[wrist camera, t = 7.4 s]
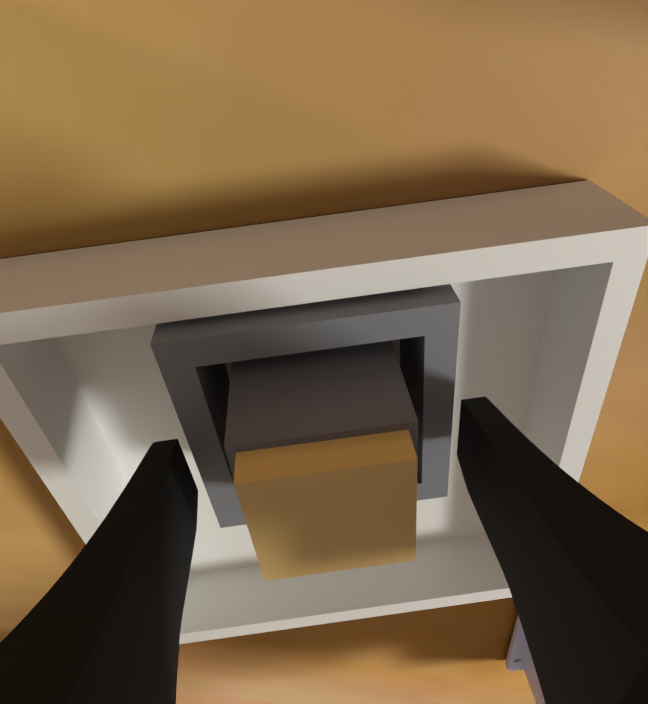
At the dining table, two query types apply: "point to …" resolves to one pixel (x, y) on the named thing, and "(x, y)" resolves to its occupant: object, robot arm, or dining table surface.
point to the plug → (324, 459)
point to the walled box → (311, 335)
